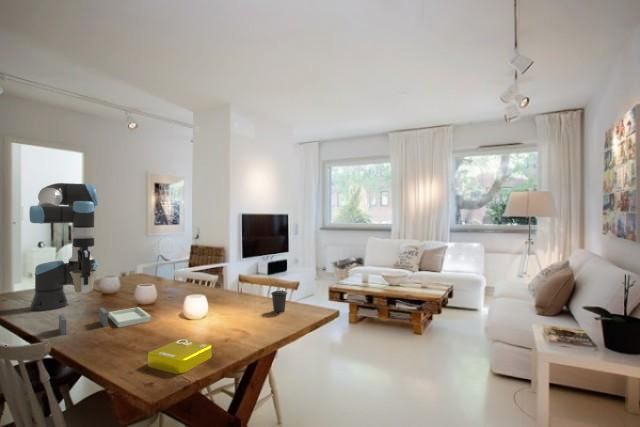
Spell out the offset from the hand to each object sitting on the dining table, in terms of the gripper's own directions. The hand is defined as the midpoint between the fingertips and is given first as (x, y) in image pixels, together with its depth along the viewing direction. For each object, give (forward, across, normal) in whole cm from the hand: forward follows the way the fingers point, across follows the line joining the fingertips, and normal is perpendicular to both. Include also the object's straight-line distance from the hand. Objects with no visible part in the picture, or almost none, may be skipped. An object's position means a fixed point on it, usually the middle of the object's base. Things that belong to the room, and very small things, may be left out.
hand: (83, 290), depth 146 cm
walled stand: (+16, 0, 0) cm, 16 cm away
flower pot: (+1, 0, 0) cm, 1 cm away
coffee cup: (+16, +36, +76) cm, 86 cm away
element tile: (+16, +61, +18) cm, 66 cm away
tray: (+16, 0, +18) cm, 24 cm away
